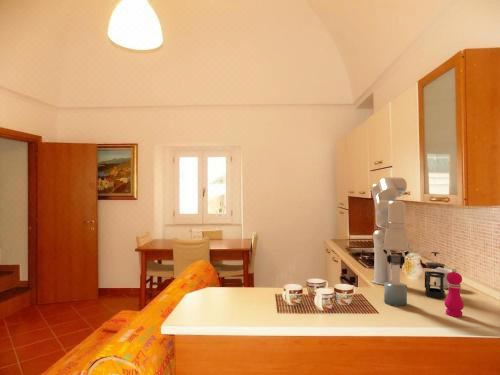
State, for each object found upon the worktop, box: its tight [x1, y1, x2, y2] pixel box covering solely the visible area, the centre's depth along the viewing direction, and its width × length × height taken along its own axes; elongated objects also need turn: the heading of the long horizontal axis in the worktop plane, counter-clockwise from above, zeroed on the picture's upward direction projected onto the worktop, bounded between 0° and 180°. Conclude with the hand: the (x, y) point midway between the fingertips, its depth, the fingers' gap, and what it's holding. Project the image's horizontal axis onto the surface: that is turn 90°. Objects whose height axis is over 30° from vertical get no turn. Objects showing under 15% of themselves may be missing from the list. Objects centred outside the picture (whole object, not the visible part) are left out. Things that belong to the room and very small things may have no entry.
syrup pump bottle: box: [383, 263, 408, 307], centre depth 165 cm, size 10×10×18 cm
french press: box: [424, 251, 446, 300], centre depth 180 cm, size 12×9×23 cm
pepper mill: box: [444, 268, 465, 318], centre depth 150 cm, size 7×7×20 cm
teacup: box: [430, 267, 452, 290], centre depth 200 cm, size 12×15×10 cm
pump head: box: [390, 253, 402, 265], centre depth 167 cm, size 8×5×12 cm, turn 157°
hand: (395, 263), depth 166 cm, fingers closed on pump head, 5 cm apart
